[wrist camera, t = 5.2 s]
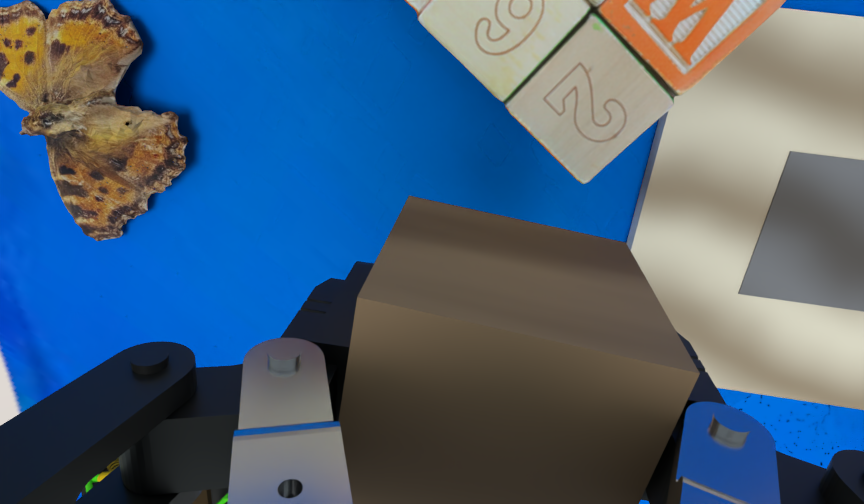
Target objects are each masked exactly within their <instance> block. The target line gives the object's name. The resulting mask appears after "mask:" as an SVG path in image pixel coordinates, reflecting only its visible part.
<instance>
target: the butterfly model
mask: <svg viewBox="0 0 864 504" xmlns="http://www.w3.org/2000/svg"><path fill="white" fill-rule="evenodd" d="M8 14H9V16H8ZM1 27H2V28H1ZM5 30H6V31H5ZM0 34H1V35H0V90H1V91H2V92H3V93H4V94H5V95H7V96H8V97H9V98H10V99H12V100H13V101H15V102H16V103H17V104H18V106H19V107H20V108H22V109H23V110H26V111H28V112H29V115H28V116H27V117H24V118H23V120H22V122H21V124H22V129H23V130H22V131H21V132H20V134H21V135H24V134H28V135H30V136H34V135H44V136H45V139H46V142H47V147H46V148H47V152H48V156H49V164H50V171H51V176H52V178H53V180H54V182H55V184H56V186H57V189H58V192H59V194H60V196H61V198H62V200H63V202H64V204H65V206H66V208H67V210H68V211H69V213H70V214H71V215H72V216H73V218H74V220H75V222H76V223H77V224H78V225H79V226H80V227H81V228H82V230H83V233H84V234H85V235H87V236H90V237H92V238H94V239H95V240H96V241H101V240H106V239H112V238H119V237H120V236H121V235H122V234H123V231H121V230H122V229H123V228H122V226H123V225H125V224H126V221H127V220H128V219H130V218H132V219H134V218H136V216H137V215H141V214H144V213H145V212H146V211H147V210H148V209H147V200H148V198H149V197H150V195H151V194H153V193H156V192H158V193H162V192H163V191H164V190H165V187H166V186H170V185H172V183H171V180H172V179H173V178H176V177H177V176H178V175H179V174H180V173H181V172H182V171H184V170H185V167H186V166H185V160H186V157H185V155H184V150H185V146H186V145H187V142H188V139H187V137H185V136H183V135H181V134H180V133H179V131H178V118H179V117H178V116H177V115H176V114H175V113H174V112H171V111H170V112H166V113H163V114H162V115H157V114H156V113H155V112H153V111H146V110H145V111H142V110H141V109H140V108H139V107H135V106H126V107H125V106H122V105H117V103H116V99H115V93H116V89H117V86H118V84H119V83H120V81H121V79H122V78H123V76H124V74H125V73H126V71H127V69H128V68H129V66H130V64H131V62H132V61H134V60H135V59H136V58H137V57H138V56H139V55H140V54H141V53H142V49H143V42H142V40H141V38H140V36H139V34H138V31H137V29H136V28H135V26H134V24H133V22H132V20H131V18H130V16H125V15H121V14H119V13H118V12H117V11H116V10H115V9H114V6H113V5H112V3H111V2H110V1H109V0H91V1H90V0H82V1H67V2H65V3H63V4H61V5H60V6H59V7H58V9H53V10H52V11H51V12H50V14H49V16H48V19H45V16H44V13H43V12H42V11H41V10H40V9H39V8H38V7H37V6H36V5H35V4H34V3H32V2H30V1H28V0H25V1H23V2H21V3H18V4H16V5H13V6H10V7H0ZM24 34H25V35H24ZM2 39H3V40H4V41H3V40H2ZM92 41H93V42H92ZM14 44H15V45H14ZM11 46H12V48H11ZM126 46H127V47H126ZM21 57H22V58H21ZM4 74H5V75H4ZM145 146H146V147H145ZM179 155H180V156H179ZM172 161H173V162H174V163H173V162H172ZM130 166H131V167H130ZM147 167H148V168H147ZM137 170H138V171H137ZM106 182H107V183H106ZM59 186H60V187H59ZM153 188H156V189H155V190H154V189H153ZM130 210H131V211H130ZM97 218H98V219H97Z"/></svg>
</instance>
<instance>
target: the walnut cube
mask: <svg viewBox="0 0 864 504" xmlns="http://www.w3.org/2000/svg"><path fill="white" fill-rule="evenodd" d="M699 374H700V373H699V371H698V369H697V368H696V366H695V364H694V362H693V360H692V359H691V357H690V355H689V353H688V352H687V350H686V348H685V346H684V345H683V343H682V341H681V339H680V337H679V336H678V334H677V332H676V330H675V329H674V327H673V325H672V323H671V322H670V320H669V318H668V316H667V314H666V313H665V311H664V309H663V307H662V306H661V304H660V302H659V300H658V298H657V297H656V295H655V293H654V291H653V290H652V288H651V286H650V284H649V283H648V281H647V279H646V277H645V275H644V274H643V272H642V270H641V268H640V267H639V265H638V263H637V261H636V260H635V258H634V256H633V254H632V252H631V251H630V249H629V247H628V245H627V244H626V243H625V242H621V241H616V240H611V239H607V238H602V237H597V236H593V235H588V234H584V233H579V232H574V231H570V230H565V229H561V228H556V227H551V226H547V225H542V224H537V223H533V222H528V221H524V220H519V219H514V218H510V217H505V216H501V215H496V214H491V213H487V212H482V211H478V210H473V209H468V208H464V207H459V206H454V205H450V204H445V203H441V202H436V201H431V200H427V199H422V198H418V197H413V196H409V197H408V199H407V201H406V203H405V205H404V207H403V209H402V211H401V213H400V215H399V217H398V218H397V220H396V222H395V224H394V226H393V228H392V230H391V232H390V234H389V236H388V238H387V240H386V242H385V244H384V246H383V248H382V250H381V252H380V254H379V256H378V258H377V259H376V261H375V263H374V265H373V267H372V269H371V271H370V273H369V275H368V277H367V279H366V281H365V283H364V285H363V287H362V289H361V291H360V293H359V295H358V297H357V302H356V308H355V315H354V322H353V328H352V335H351V342H350V348H349V355H348V361H347V368H346V375H345V381H344V388H343V395H342V401H341V408H340V414H339V423H340V427H341V433H342V439H343V446H344V452H345V458H346V465H347V471H348V477H349V483H350V490H351V496H352V502H353V504H639V502H640V500H641V498H642V496H643V493H644V491H645V489H646V487H647V485H648V483H649V481H650V479H651V476H652V474H653V472H654V470H655V468H656V466H657V464H658V462H659V459H660V457H661V455H662V453H663V451H664V449H665V447H666V445H667V442H668V440H669V438H670V436H671V434H672V432H673V430H674V428H675V425H676V423H677V421H678V419H679V417H680V415H681V413H682V411H683V408H684V406H685V404H686V402H687V400H688V398H689V396H690V394H691V391H692V389H693V387H694V385H695V383H696V381H697V379H698V377H699Z"/></svg>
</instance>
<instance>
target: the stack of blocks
mask: <svg viewBox="0 0 864 504" xmlns="http://www.w3.org/2000/svg"><path fill="white" fill-rule="evenodd" d="M405 1H406V2H407V3H408V4H409V5H410V6H411V7H413V8H414V9H415V11H416V12H417V17H418V21H419V22H420V23H421V24H422V25H423V26H424V27H425V28H426V29H427V30H428V31H429V32H430V33H431V34H432V35H433V36H434V37H435V38H436V39H437V40H438V41H439V42H440V43H441V44H442V45H443V46H444V47H445V48H446V49H447V50H448V51H449V52H450V53H452V54H453V55H454V56H455V57H456V58H457V59H458V60H459V61H460V62H461V63H462V64H463V65H464V66H465V67H466V68H467V69H468V70H469V71H470V72H471V73H472V74H473V75H474V76H475V77H476V78H477V79H478V80H479V81H480V82H481V83H482V84H483V85H484V86H485V87H486V88H487V89H488V90H489V91H490V92H491V93H492V94H493V95H494V96H495V97H496V98H498V99H499V100H501V101H502V102H504V104H505V107H506V108H507V110H508V111H509V113H510V114H511V115H512V116H513V117H514V118H515V119H516V120H517V121H518V122H519V123H520V124H521V125H522V126H523V127H524V128H525V129H526V130H527V131H528V132H529V133H530V134H531V135H532V136H533V137H534V138H535V139H536V140H537V141H538V142H539V143H540V144H541V145H542V146H543V147H544V148H545V149H546V150H547V151H548V152H549V153H550V154H551V155H552V156H553V157H554V158H555V159H556V160H557V161H558V162H559V163H560V164H561V165H562V166H563V167H564V168H565V169H566V170H567V171H568V172H569V173H570V174H571V175H572V176H573V177H574V178H575V179H577V180H578V181H579V182H581V183H582V184H585V183H587V182H589V181H590V180H591V179H592V178H593V177H594V176H595V175H596V174H597V173H599V172H600V171H601V170H602V169H603V168H604V167H605V166H606V165H607V164H608V163H610V162H611V161H612V160H613V159H614V158H615V157H616V156H617V155H619V154H620V153H621V152H622V151H623V150H624V149H625V148H626V147H628V146H629V145H630V144H631V143H632V142H633V141H634V140H635V139H637V138H638V137H639V136H640V135H641V134H642V133H643V132H644V131H646V130H647V129H648V128H649V127H650V126H651V125H652V124H654V123H655V122H656V121H657V120H658V119H659V118H660V117H662V116H663V115H664V114H665V113H666V112H667V111H668V110H670V109H671V107H672V106H673V105H674V97H675V96H681V95H683V94H684V93H686V92H687V91H689V90H690V89H691V88H692V87H694V86H695V85H696V84H697V83H698V82H699V81H701V80H702V79H703V78H704V77H705V76H706V75H707V74H708V73H709V72H710V71H711V70H712V69H714V68H715V67H716V66H717V65H718V64H719V63H720V62H721V61H722V60H723V59H725V58H726V57H727V56H728V55H729V54H730V53H731V52H732V51H733V50H734V49H736V48H737V47H738V46H739V45H740V44H741V43H742V42H743V41H744V40H745V39H746V38H747V37H749V36H750V35H751V34H752V33H753V32H754V31H755V30H756V29H757V28H758V27H759V26H760V25H762V24H763V23H764V22H765V21H766V20H767V19H768V18H769V17H770V16H771V15H772V14H773V13H775V12H776V11H777V10H778V9H779V8H780V7H781V6H782V4H783V3H784V2H785V1H786V0H405Z"/></svg>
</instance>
